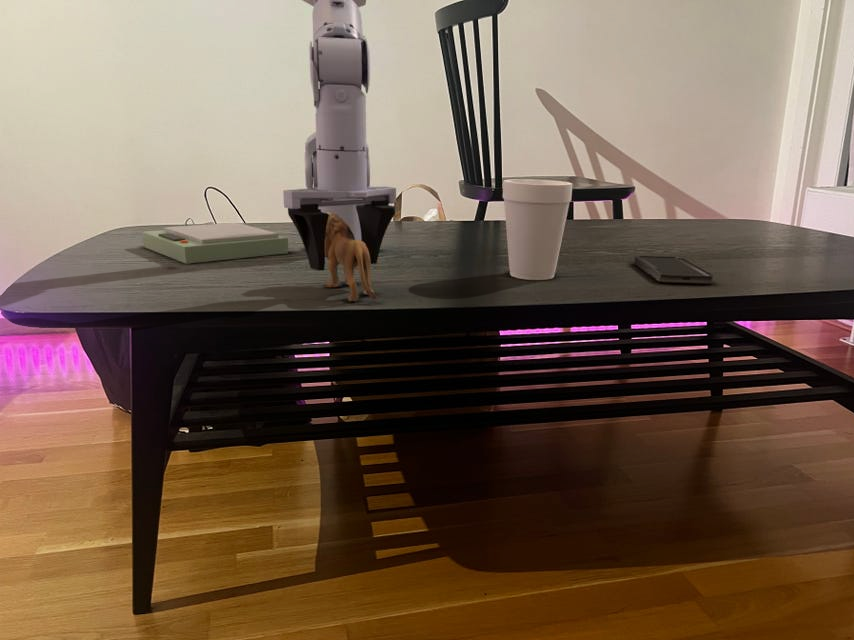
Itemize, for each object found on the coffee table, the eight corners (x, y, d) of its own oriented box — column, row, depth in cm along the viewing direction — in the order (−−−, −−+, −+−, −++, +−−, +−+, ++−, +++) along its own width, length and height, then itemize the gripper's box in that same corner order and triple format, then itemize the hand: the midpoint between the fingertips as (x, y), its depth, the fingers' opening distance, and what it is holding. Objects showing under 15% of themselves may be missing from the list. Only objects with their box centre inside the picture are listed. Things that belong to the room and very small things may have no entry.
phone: (681, 257, 112) (715, 276, 98) (680, 264, 113) (714, 284, 99) (632, 255, 112) (660, 274, 98) (632, 262, 112) (659, 282, 98)
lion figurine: (304, 281, 91) (301, 211, 88) (341, 277, 94) (340, 209, 91) (357, 306, 80) (356, 227, 77) (398, 301, 83) (398, 224, 80)
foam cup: (557, 285, 95) (564, 186, 90) (491, 278, 97) (496, 182, 93) (569, 272, 103) (576, 181, 99) (509, 266, 106) (513, 178, 101)
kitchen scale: (240, 239, 120) (239, 221, 119) (288, 253, 109) (287, 233, 108) (143, 247, 109) (141, 227, 108) (186, 263, 98) (184, 242, 97)
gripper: (304, 151, 74) (309, 278, 78) (411, 152, 84) (411, 264, 88) (271, 148, 79) (278, 267, 83) (376, 149, 88) (377, 256, 93)
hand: (344, 265), depth 86 cm, fingers open, 7 cm apart
